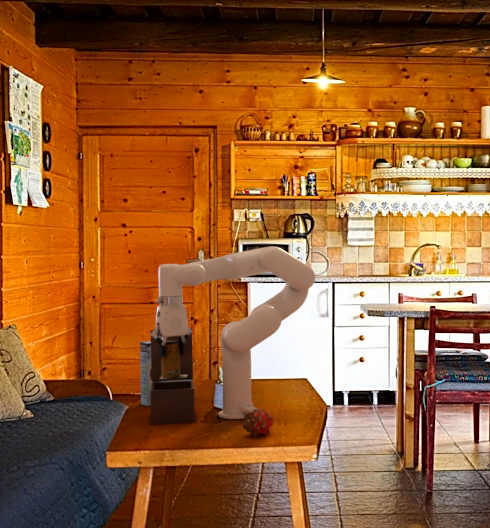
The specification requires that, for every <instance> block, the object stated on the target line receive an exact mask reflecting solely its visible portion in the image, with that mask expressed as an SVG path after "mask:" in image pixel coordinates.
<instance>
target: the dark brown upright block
mask: <svg viewBox="0 0 490 528" xmlns="http://www.w3.org/2000/svg"><path fill="white" fill-rule="evenodd" d="M190 329H191V330H192V332H191V334H190V335H189V336H188V338H187V340H186V342H185V343H184V355H180V375H187V377H186V378H172V379H160V378H161V376H162V369H161V368H162V367H161V357H160V355H159V345H158V344H157V342H156V341H155V340H154V339H153V338H152V337H151V336H150V341H151V375H152V381H172V380H193V381H194V366H193V364H194V360H193V359H194V358H193V356H194V355H193V328H190ZM153 330H154V329H150V334H151V333H152V332H153ZM158 337H159V336H158ZM170 340H174V341H178V340H177V337H176V336H172V337H167V339H166V341H170Z"/></svg>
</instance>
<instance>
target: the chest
mask: <svg viewBox="0 0 490 528" xmlns="http://www.w3.org/2000/svg"><path fill="white" fill-rule="evenodd" d="M150 392H151V406H150V425H165V424H166V425H167V424H182V423H185V424H186V423H195V422H196V416H195V415H196V412H195V411H196V409H195V386H194V380H193V381H174V382H153V383H152V384H151V391H150Z"/></svg>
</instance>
